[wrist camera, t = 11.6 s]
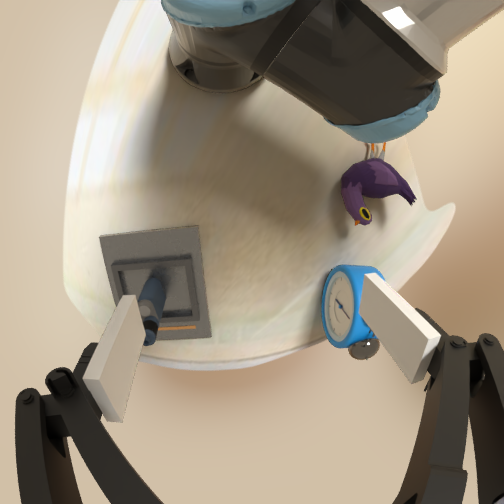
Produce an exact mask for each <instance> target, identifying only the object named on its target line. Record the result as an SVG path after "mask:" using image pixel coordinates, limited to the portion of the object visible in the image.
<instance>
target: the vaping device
mask: <svg viewBox="0 0 504 504" xmlns="http://www.w3.org/2000/svg"><path fill="white" fill-rule="evenodd" d="M165 301H166V298H165V295H164V292H163V289H162V286H161V283H160V281H159V280H158V279H157V278H150V279H148V280H147V281H146V282H145V284H144V287H143V289H142V291H141V294H140V296H139V298H138V307H139V311H140V315H141V317H142V320H143V326H144V330H145V333H146V336H145V339H144V343H143V345H144V346H149V345H152V344H154V343H155V340H156V335H157V332H158V328H159V326H160V321H161V317H162V313H163V309H164V305H165Z"/></svg>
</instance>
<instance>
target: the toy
mask: <svg viewBox="0 0 504 504" xmlns="http://www.w3.org/2000/svg"><path fill="white" fill-rule="evenodd" d="M385 145H386V142H384V145H383V149H382V152H381V154H380V156H379V158H374V143H371V155H370V159H368V160H365V161H362V162H358V163H355V164H353V165H352V166H351V167H350V168H349V169H348V170H347V171H346V172H345V173H344V174H343V175H342V177H341V194H342V197H343V200H344V204H345V207H346V209H347V211H348V212H349V213H350V215H351V216H352V217H353V218H354V220H355V226H356V225H357V224H362V225H367V224H369V223H370V222H371V221H372V215H371V213H370V211H369V210H368V209H367V208H366V206H365V204H364V201H363V197H362V195H363V196H365V197H370V198H384V197H387V196H390V195H394V194H399V195H401V196H402V197H403V198H405V199H406V200H407V201H408V202H409V204H410V205H411V204H412V202H413V203H414V202H415V201H414V199H416V197H415V195H414V194H413V192H412V190H411V188H410V187H409V185H408V183H407V182H406V181H405V180H404V179H403V178H402V177H401V176H400V175H399V173H398V172H397V171H396V170H395V169H394V168H393V167H392V166H391V165H390V164H388V163H386V162H384V154H385ZM416 200H417V199H416ZM412 205H413V204H412ZM412 205H411V206H412Z"/></svg>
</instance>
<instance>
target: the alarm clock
mask: <svg viewBox="0 0 504 504" xmlns="http://www.w3.org/2000/svg"><path fill="white" fill-rule="evenodd" d="M369 273H376V274H377V275H378V276H380V277H381V278H382V279H383V280H384V281H385V279H384V277H383V276H382V274H381V273H380V272H379V271H378V270H377V269H376V268H374V267H371V266H357V265H338V266H336V267H335V268H334V269H331V272H330V274H329V276H328V278H327V280H326V283H325V286H324V290H323V296H322V322H323V327H324V331H325V334H326V336H327V338H328V340H329V342H330V343H331V344H332V345H333V346H334V347H337V348H348V351H349V354H350V355H351V356H352V357H353V358H355V359H358V360H365V359H366V360H368V358H371V357H372V356H374V355H375V354H376V353H377V351H378V350H379V346H380V342H379V339H378V338H377V337H376V335H375V334H374V333H373V331H372V330H371V329H370V327H369V326H368V325H367V323H366V322H365V321H364V320H363V318H362V317H361V316H360V314H359V308H360V302H361V295H362V288H363V281H364V274H369ZM385 282H386V281H385Z"/></svg>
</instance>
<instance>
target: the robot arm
mask: <svg viewBox="0 0 504 504" xmlns="http://www.w3.org/2000/svg"><path fill="white" fill-rule="evenodd" d="M161 4H162V7H163V9H164V11H165V12H166V14H167V16H168V18H169V21H170V23H171V26H172V28H173V31H172V34H171V37H170V41H169V54H170V58H171V61H172V63H173V65H174V67H175V69H176V71H177V72H178V74H179V75H180V76H181V77H182V78H183V79H184V80H185V81H186V82H188V83H189V84H191V85H192V86H194V87H196V88H198V89H201V90H204V91H208V92H215V93H227V92H234V91H238V90H241V89H244V88H246V87H249V86H251V85H252V84H254V83H255V82H257V81H258V80H259V79H261V78H262V77H263V78H265V79H267V80H268V81H270V82H272V83H273V84H275V85H277V86H278V87H280V88H282V89H283V90H285V91H286V92H288V93H289V94H291V95H293V96H294V97H296V98H297V99H299V100H300V101H302V102H303V103H305V104H306V105H308V106H309V107H311V108H312V109H313V110H315V111H316V112H318V113H319V114H321V115H322V116H323V117H324V119H325V120H326V121H327V122H328V123H329V124H331V125H333V126H335V127H338V128H340V129H341V130H343V131H344V132H346V133H347V134H349V135H350V136H351V137H353V138H354V139H356V140H358V141H362V142H365V143H383V142H388V141H391V140H394V139H397V138H399V137H401V136H403V135H405V134H407V133H409V132H410V131H412V130H413V129H415V128H416V127H417V126H419V125H420V124H421V123H422V122H423V121H424V120H425V119H426V118H427V117H428V114H427V112H428V111H431V110H434V108H435V107H436V105H437V103H438V101H439V98H440V86H439V83H438V79H439V78H440V77H442V76H443V75H444V74H445V73H447V54H448V50H449V48H451V47H452V46H453V45H455V44H456V43H457V42H459V41H460V40H461V39H463V38H464V37H466V36H467V35H468V34H470V33H471V32H472V31H474V30H475V29H477V28H478V27H479V26H481V25H482V24H483V23H485V22H486V21H488V20H489V19H491V18H492V17H494V16H495V15H496V14H498V13H499V12H501V11H502V10H504V0H161ZM308 15H309V16H308ZM303 21H304V22H303ZM300 25H301V26H300ZM299 26H300V27H299ZM296 30H297V31H296ZM295 31H296V32H295ZM292 35H293V36H292ZM289 39H290V40H289ZM288 40H289V41H288ZM286 43H287V44H286ZM285 44H286V45H285ZM283 47H284V48H283ZM282 48H283V49H282ZM280 51H281V52H280ZM279 52H280V53H279ZM277 55H278V56H277ZM276 56H277V57H276ZM274 59H275V60H274ZM359 314H360V316H361V317H362V318H363V320H364V321H365V322H366V323H367V325H368V326H369V327H370V329H371V330H372V331H373V333H374V334H375V335H376V337H377V338H378V339H379V341H380V342H381V343H382V345H383V346H384V347H385V349H386V350H387V351H388V353H389V354H390V355H391V357H392V358H393V359H394V361H395V362H396V364H397V365H398V366H399V368H400V369H401V371H402V372H403V373H404V374H405V376H406V377H407V379H408V380H409V382H410V383H411V384H413V383H416V382H418V381H421V380H423V379H424V377H425V374H426V372H427V371H428V372H429V373H430V375H431V376H430V379H429V381H428V383H427V385H426V387H425V389H424V391H426V390H427V393H426V399H425V404H424V409H423V413H422V418H421V422H420V427H419V431H418V435H417V438H416V442H415V446H414V449H413V453H412V456H411V459H410V463H409V466H408V469H407V473H406V475H405V478H404V481H403V484H402V487H401V489H400V492H399V494H398V496H397V497H396V499H395V500H394V502H393V503H392V504H462V501H463V496H464V492H465V487H466V482H467V474H468V473H467V471H466V470H463V469H462V465H463V459H464V452H465V445H466V437H467V427H468V415H469V418H470V424H471V429H472V436H473V443H474V451H475V459H476V469H477V484H478V499H479V504H504V351H503V349H502V347H501V345H500V343H499V341H498V339H497V338H496V337H494V336H493V335H491V334H487V333H484V334H481V335H480V336H479V339H478V341H477V342H474V343H467V341H466V340H464V339H463V338H462V337H459V336H453V335H452V336H449V335H448V334H447V333H446V332H445V331H444V330H443V329H441V327H440V326H439V325H438V324H437V323H435V322H434V321H433V320H432V319H430V317H429V316H428V315H427V314H426V313H425V312H423V311H422V310H419V309H417V308H415V309H414V308H413V307H411V305H410V304H409V303H407V302H406V301H405V300H404V299H403V298H402V297H401V296H400V295H399V294H398V293H397V292H396V291H395V290H394V289H393V288H392V287H390V286H389V285H388V284H387V283H386V282H385V281H384V280H383V279H382V278H381V277H380V276H378V275H377V274H376V273H369V274H364V281H363V288H362V295H361V302H360V308H359ZM145 336H146V333H145V330H144V326H143V323H142V319H141V315H140V311H139V307H138V304H137V300H136V295H123V296H122V298H121V300H120V302H119V304H118V305H117V307H116V309H115V311H114V313H113V315H112V317H111V319H110V321H109V323H108V325H107V327H106V329H105V331H104V333H103V335H102V337H101V339H100V341H99V343H90V344H89V345H88V346H87V347H86V348H85V349H84V351H83V353H82V355H81V358H80V359H79V361H78V363H77V365H76V367H75V369H74V371H73V373H72V372H71V370H70V369H68V368H65V367H62V368H61V367H60V368H56V369H54V370H52V371H51V372H50V373H49V374H48V375H47V376H46V379H45V384H46V385H47V387H48V389H49V391H50V392H51V394H49V395H42V396H41V395H40V394H39V392H38V391H37V390H36V389H34V388H27V389H24V390H23V391H21V392H20V393H19V395H18V396H17V399H16V411H15V412H16V413H15V444H16V445H15V446H16V463H17V474H18V483H19V491H20V497H21V503H22V504H83V503H82V500H81V497H80V493H79V490H78V487H77V483H76V479H75V475H74V471H73V467H72V462H71V458H70V453H69V448H68V443H67V437H68V436H71V437H72V439H73V441H74V443H75V445H76V447H77V449H78V451H79V453H80V454H81V456H82V458H83V460H84V462H85V463H86V465H87V467H88V469H89V470H90V472H91V473H92V475H93V477H94V479H95V480H96V482H97V483H98V485H99V487H100V488H101V490H102V491H103V493H104V494H105V496H106V497H107V498H108V500H109V502H110V503H111V504H164V503H163V502H162V501H161V500H160V499H159V498H158V497H157V496H156V495H155V494H154V492H153V491H152V490H151V489H150V488H149V487H148V486H147V484H146V483H145V482H144V481H143V479H142V478H141V477H140V476H139V475H138V473H137V472H136V471H135V470H134V468H133V467H132V466H131V464H130V463H129V462H128V460H127V459H126V458H125V456H124V455H123V454H122V452H121V451H120V449H119V448H118V447H117V445H116V444H115V442H114V441H113V439H112V438H111V436H110V435H109V433H108V432H107V430H106V429H105V427H104V426H103V424H102V423H101V421H100V419H101V416H102V414H103V416H104V417H105V419H106V420H107V421H110V422H121V423H122V422H123V418H124V413H125V410H126V406H127V401H128V397H129V393H130V389H131V386H132V382H133V378H134V374H135V371H136V367H137V364H138V360H139V357H140V353H141V350H142V346H143V343H144V339H145ZM484 375H485V376H484Z"/></svg>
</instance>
